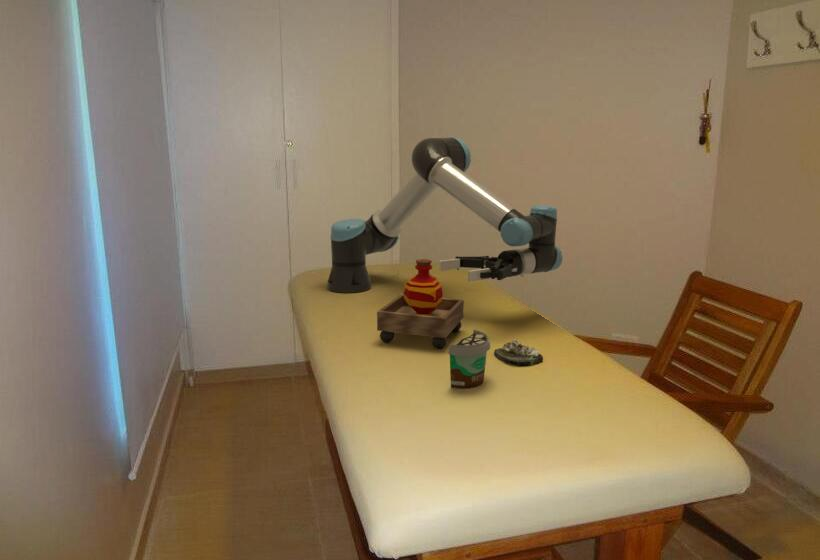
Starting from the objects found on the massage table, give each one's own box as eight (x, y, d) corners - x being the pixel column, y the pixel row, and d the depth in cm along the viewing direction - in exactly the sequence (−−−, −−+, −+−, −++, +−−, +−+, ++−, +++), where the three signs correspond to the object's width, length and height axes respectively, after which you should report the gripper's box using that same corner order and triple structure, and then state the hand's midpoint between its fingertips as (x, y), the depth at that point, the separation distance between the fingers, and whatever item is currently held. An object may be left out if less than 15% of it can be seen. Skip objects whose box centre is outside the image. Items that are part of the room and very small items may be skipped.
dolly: (377, 343, 154) (377, 311, 152) (401, 323, 170) (401, 294, 168) (445, 352, 148) (445, 318, 146) (463, 330, 165) (463, 299, 163)
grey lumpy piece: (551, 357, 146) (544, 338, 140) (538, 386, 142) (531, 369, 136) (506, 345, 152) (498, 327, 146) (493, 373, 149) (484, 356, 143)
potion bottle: (443, 311, 162) (444, 257, 159) (442, 323, 152) (442, 265, 149) (404, 310, 163) (404, 256, 160) (400, 322, 153) (400, 264, 150)
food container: (473, 396, 123) (475, 350, 121) (447, 389, 126) (448, 344, 124) (498, 376, 133) (500, 333, 131) (473, 370, 137) (474, 328, 134)
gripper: (544, 285, 162) (481, 295, 151) (487, 266, 182) (428, 274, 172) (546, 257, 160) (482, 266, 149) (488, 242, 181) (429, 249, 170)
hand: (453, 270), depth 161 cm, fingers open, 13 cm apart
